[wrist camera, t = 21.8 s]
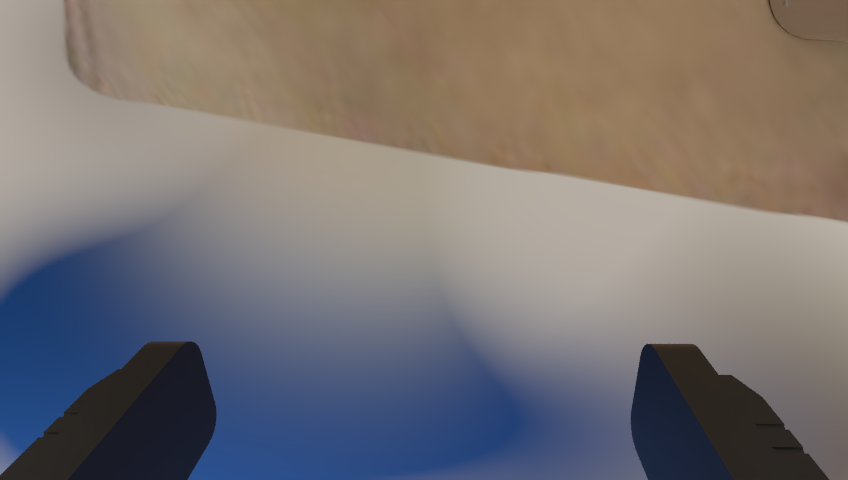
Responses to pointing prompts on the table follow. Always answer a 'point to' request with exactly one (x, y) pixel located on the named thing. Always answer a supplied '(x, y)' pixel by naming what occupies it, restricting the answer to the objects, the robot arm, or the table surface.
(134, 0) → the table surface
